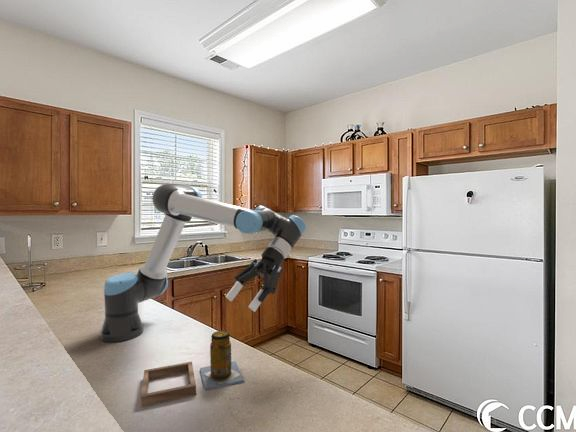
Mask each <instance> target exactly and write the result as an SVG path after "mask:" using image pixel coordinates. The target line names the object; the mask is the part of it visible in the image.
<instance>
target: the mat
mask: <svg viewBox="0 0 576 432" xmlns="http://www.w3.org/2000/svg"><path fill="white" fill-rule="evenodd" d="M231 369H232V370H234V371H236V372H238V373H240V374H241V375H239V376H238V377H235V378H234V379H231V380H229V381H227V382H225V383H222V384H219V383H217V382H216V381H214V380H212V379H211V378H209V377H207V376H206V375H205V373H207V372H210V371H211V365H209V366H204V367H203V366H202V367H200V368H199V371H200V376H201V381H202V385H203V389H204V391H208V390H213V389H218V388H223V387H227V386H232V385H236V384H240V383H245V379H244V376H243V374H242V372H241V370H240V368H239V366H238V364H237V362H236V361H231Z"/></svg>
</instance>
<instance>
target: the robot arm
mask: <svg viewBox="0 0 576 432" xmlns="http://www.w3.org/2000/svg"><path fill="white" fill-rule="evenodd" d="M151 200H152V204H153V206H154V208H155V210H157V211H159V212H160V213H162V214H163V215H164V218H163V220H162V221H161V225H160V227H159V229H158V232H157V235H156V236H155V240H154V241H153V244H152V247H151V248H150V251H149V253H148V257H147V259H146V261H145V263H144V264H141V265H140V267H139V268H138V271H137V273H134V272H128V273H127V272H126V273H122V274H121V273H119V274H115V275H112V276H110V277H108V278H107V280H105V282H104V289H103V294H104V295H103V296H104V316H105V317H104V320H103V323H102V327H101V330H100V334H99V335H100V340H101V341H103V342H107V343H115V342H116V343H117V342H123V341H127V340H132V339H134V338H137V337H138V336H140V335H142V334H143V332H144V324H143V322H142V318H141V317H140V314H139V303H144V302H146V301H148V300H152V299H154V298H157V297H159V296H161V295H163V294H164V293H165V291H166V290H167V289H168V286H169V280H168V272H167V270H166V269H167V267H168V264H169V262H170V260H171V258H172V255H173V253H174V251H175V247H177V246H176V245H177V243H178V241H179V239H180V236H181V234H182V232H183V230H184V227H185V225H186V223H189V222H191V220H192V218H194V219H199V220H203V221H205V222H210V223H214V224H217V225H222V226H225V227H229V228H232V229H233V228H234V229H236V230H237V229H238V231H240V232H241V233H243V234H249V235H251V234H252V235H253V234H255V233H259V232H269V233H270V234H271V235H273V236H274V238H273V239H272V240H271V241H270V242H269V244H268V247H266V248H265V249H264V251H263V252H261V260H257V259H256V258H255V259H253V260H252V262H251V263H249V265H247V266H245V268H243V270H241V271H240V272H239V273H238V274H236V275H235V276H234V279H235V280H236V281H235V283H234V284H233V286H232V287H231V288H230V290H229V291H228V293H227V294H226V295H225V298H226V299H227V300H228V301H230V302H233V300H234V299H235V297H236V296H237V295H238V293H239V292H240V291H241V290H242V288H243V287H244V284H246V283H247V282H249V281H250V280H252V279H253V278H255V277H259V276H261V277H262V276H263V285H262V287H261V288H260V289H259V290H258V292H257V294H256V295H255V297H253V300H251V302H250V304H248V308H249V309H250V310H251V311H252V312H254V313H256V311H257V310H258V308H259V307H260V305H261V304H262V303H263V302H264V301H265V299H266V298H267V296H268V295H270V294H272V295H274V294H275V293H276V292H277V291H276V290H277V287H278V282H279V279H280V275H281V273H282V271H283V268H282V264H283V263H284V261H285V259H286V258H287V257H288V255H289V254H290V252H291V250H293V248H294V246H295V245H296V244H297V242H298V241H299V240H300V238H301V237H302V235H303V233H304V232H305V230H306V228H307V224H306V222H305V221H304V220H303V218H302V217H299V216H298V215H294V214H292V215H289V217H288V218H287V217H285V216H283V215H281V214H280V213H278V212H275V211H274V210H272V209H270V208H269V207H266V206H264V205H258V206H256V208H255V209H251V208H245V207H242V206H238V205H233V204H229V203H224V202H222V201H217V200H212V199H207V198H203V195H202V193H201V191H200V190H199V189H198V188H196V187H194V186H192V185H188V184H185V185H184V184H174V183H165V184H161V185H159V186H158V187H157V188H155V190H154V191H153V194H152V198H151Z"/></svg>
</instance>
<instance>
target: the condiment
mask: <svg viewBox="0 0 576 432" xmlns="http://www.w3.org/2000/svg"><path fill="white" fill-rule="evenodd" d="M210 341H211V342H210V344H209V347H210V348H209V349H210V352H209V355H210V357H209V358H210V361H209V362H210V366H211V371H210V372H207V373H205V375H206V376H207V377H209V378H211V379H212V380H214V381H216V382H217V383H219V384H222V383H225V382H227V381H229V380H231V379H234V378H235V377H238V376H239V375H241V374H242V373H241V374H240V373H238V372H236V371H234V370H232V369H231V362H232V343H231V339H230V332H229V331H225V330H218V331H217V330H216V331H215V332H213V333H212V334H211V338H210Z"/></svg>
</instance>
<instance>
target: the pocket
mask: <svg viewBox="0 0 576 432" xmlns="http://www.w3.org/2000/svg"><path fill="white" fill-rule="evenodd" d="M186 373H187V374H188V379H189V384H187V385H186V384H185V385H182V386H177V387H172V388H167V389H162V390H157V391H151V392H148V391H149V381H150V380H155V379H159V378H165V377H170V376H176V375H180V374H186ZM142 377H143V379H142V385H141V386H142V387H141V392H140V407H141V408H142V407H147V406H152V405H157V404H161V403H165V402H169V401H170V402H171V401H175V400H180V399H184V398H189V397H192V396H193V397H194V396H196V395H197V383H196V377H195V372H194V367H193V361H187V362H182V363H176V364H172V365H171V364H169V365H166V366H160V367H154V368H149V369H145V370H144V371H143V376H142Z"/></svg>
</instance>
